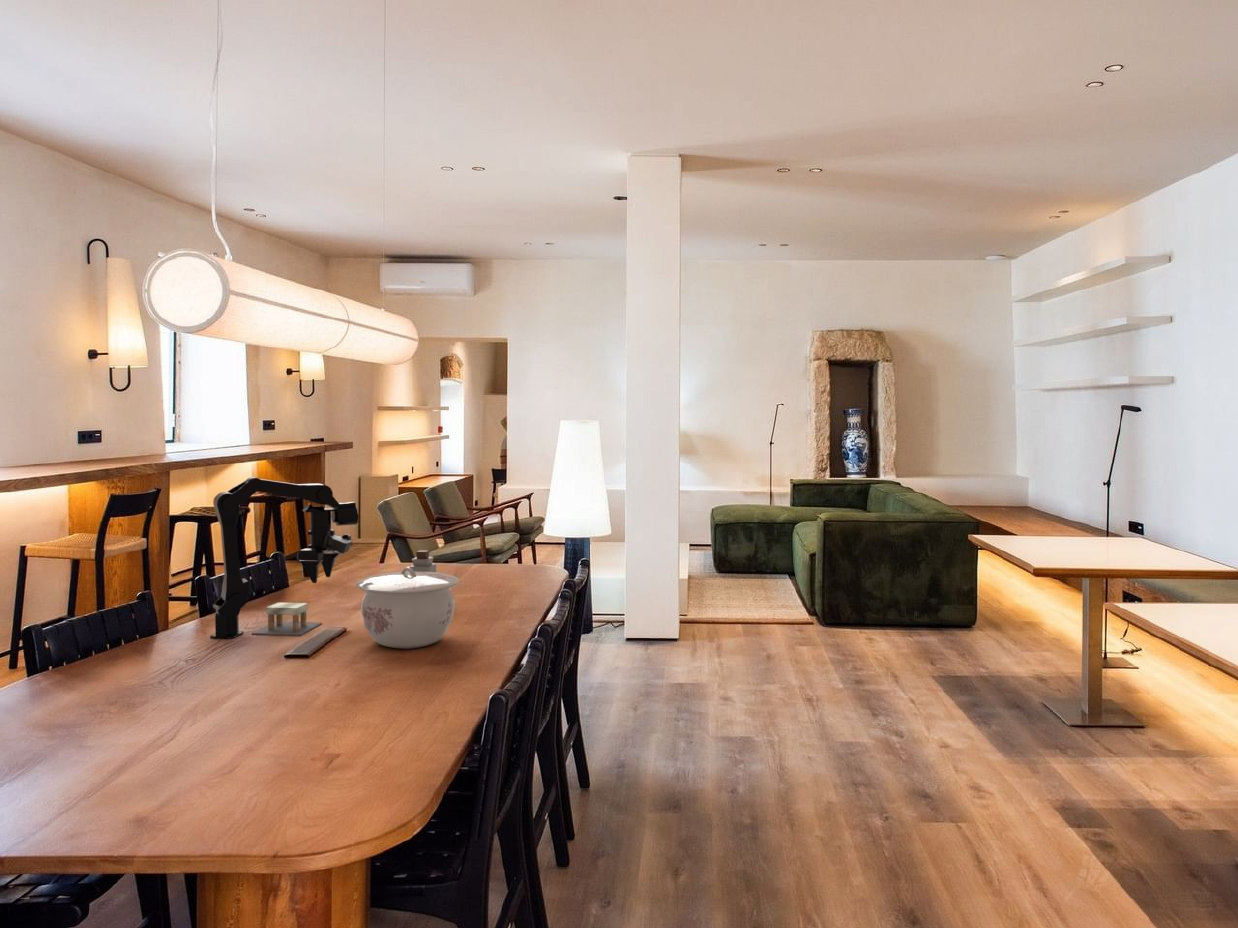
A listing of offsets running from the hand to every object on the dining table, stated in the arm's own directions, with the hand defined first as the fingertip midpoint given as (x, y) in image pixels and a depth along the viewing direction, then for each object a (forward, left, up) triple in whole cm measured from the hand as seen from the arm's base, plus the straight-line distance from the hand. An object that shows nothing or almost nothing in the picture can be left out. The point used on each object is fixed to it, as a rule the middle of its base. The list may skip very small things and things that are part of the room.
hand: (321, 579), depth 251 cm
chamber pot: (-17, -32, -13) cm, 39 cm away
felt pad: (-7, +7, -13) cm, 16 cm away
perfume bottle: (+26, -22, -13) cm, 37 cm away
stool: (-7, +7, -13) cm, 16 cm away
